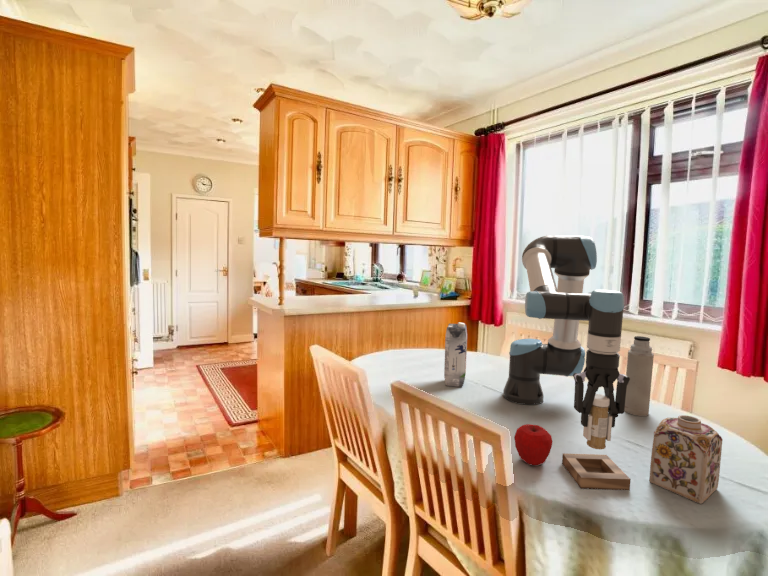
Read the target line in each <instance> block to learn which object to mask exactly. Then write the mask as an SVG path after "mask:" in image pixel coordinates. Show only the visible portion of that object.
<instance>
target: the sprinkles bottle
mask: <svg viewBox="0 0 768 576" xmlns="http://www.w3.org/2000/svg"><path fill="white" fill-rule="evenodd" d="M609 402H610V399H609V398H608V397H607V396H605V394H600V393H599V394H598V393H596V394H595V397H594V401H593V404H592V407H591V410H590V415H592V428H591V440H587V439H586V445H587V446H588V447H589V448H591V449H595V450H605V449H606V441H607V440H606V434H607V422H608V406H609Z"/></svg>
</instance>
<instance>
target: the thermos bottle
mask: <svg viewBox="0 0 768 576" xmlns="http://www.w3.org/2000/svg"><path fill="white" fill-rule="evenodd" d="M633 339H634V340H633V343H632V344H630V347H629V348H630V350H628V351H627V359H626V360H627V361H626V362H627V363H626V374H625V375H626V376H627V377H629V378H630V380H629V383H628V385H627V389H626V399H625V409H624V413H627V414H631V415H633V416H638V417H640V416H641V417H646V416H649V413H650V401H651V392H652V379H653V378H652V377H653V368H654V367H653V366H654V353H653V348H652V346H651V345H650V341H651V337H649V336H648V337H647V336H642V335H641V336H639V335H637V336H633Z"/></svg>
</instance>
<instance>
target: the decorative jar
mask: <svg viewBox="0 0 768 576" xmlns="http://www.w3.org/2000/svg"><path fill="white" fill-rule="evenodd" d="M722 447H723V438H722V436H721V435H720V433H718V432H717V431H716V430H715V429H714V428H713V427H711V426H710V425H708V424H706V423H702V421H701V419H699V418H697V417H694V416H691V415H678V417H667V418H664V419H662V420H660V422H659V424H658V426H656V429H655V431H653V440H652V448H651V456H650V466H649V467H650V469H649V480H648V481H649V483H651V484H653V485H654V486H658V487H659V488H663V489H664V490H666V491H667V490H668V491H670V492H671V493H674V494H675V495H676V494H677V495H679V496H680V497H683V498H684V499H685V498H686V499H688V500H691V501H692V502H695V503H697V504H700V505H702V504H703V503H705V502H706V501H707V500H708V499H709V498H710V497H711V496H712V495H713V493H715V491H717V490H718V488H719V480H720V472H721V460H722V450H723V449H722Z"/></svg>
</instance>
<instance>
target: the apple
mask: <svg viewBox="0 0 768 576" xmlns="http://www.w3.org/2000/svg"><path fill="white" fill-rule="evenodd" d="M513 437H514V445H515V446H514V447H515V449H516V451H517V455H518V457H519V458H520V459H521V460H522V461H523V462H525V463H526V464H527V465H530V466H534V467H535V466H539V465H543V464H545V462H546V461H547V458H548V457H549V455H550V453H551V449H552V446H553V437H552V434H550V433H549V431H547V429H545V428H544V427H542V426H540V425H538V424H537V425H536V424H530V423H529V424H528V423H527V424H522V425H521V426H519V427H518V428H516V432H515V434H514V436H513Z"/></svg>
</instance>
